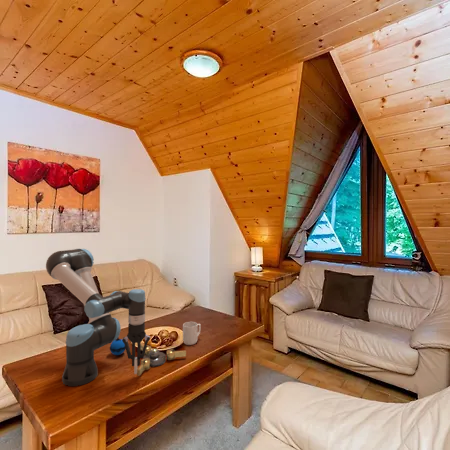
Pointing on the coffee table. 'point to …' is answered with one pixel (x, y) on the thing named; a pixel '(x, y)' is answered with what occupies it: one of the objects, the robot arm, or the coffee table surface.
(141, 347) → the knob
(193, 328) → the mug
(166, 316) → the coffee table surface
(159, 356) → the tribrach plate
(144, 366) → the knob
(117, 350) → the ornament
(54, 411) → the coffee table surface
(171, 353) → the knob
